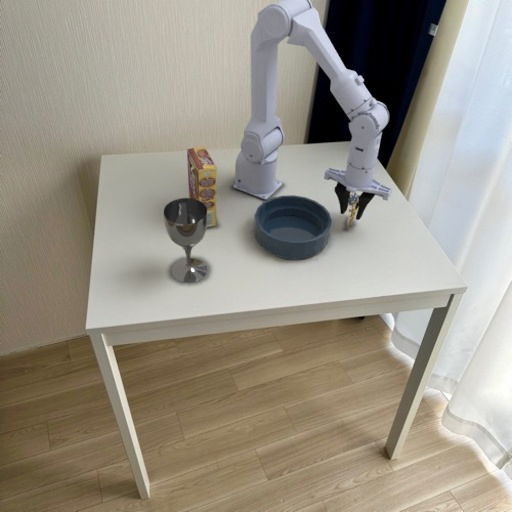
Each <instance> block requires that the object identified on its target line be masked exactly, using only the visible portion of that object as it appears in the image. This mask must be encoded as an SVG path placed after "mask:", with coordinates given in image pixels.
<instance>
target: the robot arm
mask: <svg viewBox="0 0 512 512" xmlns="http://www.w3.org/2000/svg"><path fill="white" fill-rule="evenodd" d="M287 37H288V39H287V41H286V44H288V45H292V46H293V45H294V46H299V47H305V48H306V50H307V51H308V53H309V54H310V55H311V56H312V58H313V59H314V60H315V61H316V62H317V64H318V65H319V67H320V68H321V69H322V70H323V72H324V73H325V75H326V76H327V77H328V78H329V80H330V88H329V89H330V92H331V94H332V95H333V97H334V98H335V100H336V101H337V103H338V104H339V105H340V107H341V109H342V110H343V111H344V113H345V115H346V116H347V117H348V119H349V120H350V122H348V129H349V133H350V135H351V140H350V145H349V150H348V157H347V162H346V168H345V169H344V170H343V169H336V168H332V167H328V168H327V169H326V170H325V171H324V176H323V179H324V180H326V181H329V180H331V181H334V182H337V183H336V185H335V186H334V193H335V195H336V197H337V200H338V203H339V209H340V211H339V212H340V214H341V215H345V214H346V212H347V211H348V209H349V202H348V198H347V196H348V195H351V193H352V194H354V192H356V193H357V192H361V194H359V195H360V196H359V205H358V208H357V211H356V214H355V220H356V221H357V220H358V221H360V219H361V218H362V217H363V214H364V212H365V210H366V209H367V207H368V205H369V204H370V202H371V201H372V200H373V198H374V197H375V196H377V197H381V198H382V201H383V200H384V201H386V202H387V201H388V200H389V199H390V197H391V196H392V192H393V188H391V187H389V186H386V185H385V184H383V183H381V182H379V181H378V180H376V179H375V178H374V173H375V170H376V169H375V168H376V165H377V160H378V156H379V150H380V145H381V139H382V135H383V130H384V129H385V128H386V126H387V125H388V123H389V121H390V112H389V110H388V107H387V105H386V104H385V103H383V102H382V101H379V100H377V99H376V98H375V97H373V95H372V94H371V92H370V91H369V90H368V88H367V87H366V85H365V83H364V82H365V79H364V78H363V76H362V75H358V73H357V72H356V71H355V70H351V69H348V68H346V66H345V64H344V62H343V61H342V59H341V57H340V56H339V53H338V52H337V50H336V49H335V47H334V44H333V43H332V42H331V39H330V38H329V36H328V34H327V32H326V30H325V29H324V27H323V25H322V23H321V18H320V14H319V11H318V10H317V9H316V8H315V7H314V5H313V3H312V1H311V0H279V1H276V2H274V3H269V4H268V5H266V6H265V7H264V8H263V9H261V10H260V11H258V13H257V20H256V23H255V24H254V27H253V28H252V30H251V33H250V119H249V121H248V122H247V124H246V126H245V128H244V129H243V138H242V140H241V142H240V151H239V152H238V154H237V157H236V159H235V164H234V166H235V168H234V169H235V170H234V179H235V180H234V182H235V183H234V184H233V186H232V187H233V188H234V189H235V190H238V191H241V192H244V193H245V194H249V195H251V196H254V197H256V198H260V199H262V200H264V201H267V200H269V199H270V198H271V196H272V195H274V194H275V192H277V191H278V190H279V189H280V188H281V187H282V186H283V182H281V181H278V180H277V170H278V155H279V154H278V152H279V148H280V147H282V145H283V144H284V142H285V133H284V131H283V126H282V119H281V118H279V117H278V116H277V89H278V53H279V52H278V51H279V50H278V48H279V44H280V43H281V42H283V40H285V39H286V38H287Z"/></svg>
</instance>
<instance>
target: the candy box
mask: <svg viewBox="0 0 512 512" xmlns="http://www.w3.org/2000/svg"><path fill="white" fill-rule="evenodd" d="M186 155H187V156H186V158H187V174H188V175H187V180H188V182H187V183H188V198H192V199H196V200H199V201H201V202H202V203H204V204H205V206H206V207H207V215H208V217H207V228H211V227H216V226H217V166H216V164H215V163H214V160H213V159H212V157H211V156H210V154H209V152H208V149H207V148H206V147H205V146H197V147H192V148H187V149H186Z"/></svg>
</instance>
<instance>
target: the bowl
mask: <svg viewBox="0 0 512 512" xmlns="http://www.w3.org/2000/svg"><path fill="white" fill-rule="evenodd" d="M332 221H333V220H332V217H331V214H330V212H329V210H327V208H326V207H325V206H324V205H323V204H321V203H320V202H318V201H316V200H314V199H311V198H309V197H305V196H300V195H295V194H294V195H292V194H291V195H290V194H289V195H280V196H275V197H270V198H268V199H267V200H264V201H263V202H262V203H261V204H259V206H258V207H257V208H256V210H255V214H254V221H253V222H254V223H253V224H254V225H253V232H254V240H256V242H257V244H258V245H259V246H260V247H261V248H262V249H263V250H265V251H266V252H267V253H270V254H271V255H274V256H277V257H279V258H284V259H290V260H291V259H293V260H294V259H306V258H309V257H313V256H315V255H317V254H319V253H320V252H322V251H323V250H324V249H325V248H326V246H328V244H329V238H330V233H331V227H332Z"/></svg>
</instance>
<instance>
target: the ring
mask: <svg viewBox="0 0 512 512" xmlns="http://www.w3.org/2000/svg"><path fill="white" fill-rule="evenodd" d="M360 195H361V194H357V191H356V192H354V193H350V195H348V196H347V198H348V202H349V203H348V212H347V213H348V214H347V220H346V227H349V228H350V227H351V226H352V224H353V221H354V218H355V217H356V214H357V211H358V205H359V196H360Z"/></svg>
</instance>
